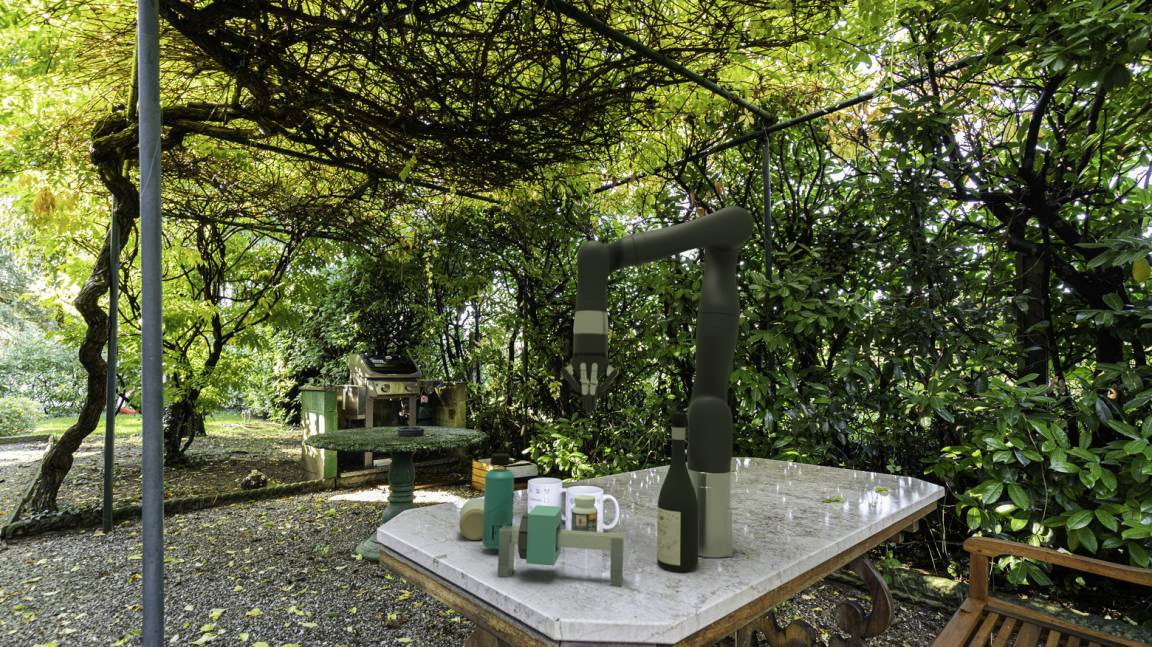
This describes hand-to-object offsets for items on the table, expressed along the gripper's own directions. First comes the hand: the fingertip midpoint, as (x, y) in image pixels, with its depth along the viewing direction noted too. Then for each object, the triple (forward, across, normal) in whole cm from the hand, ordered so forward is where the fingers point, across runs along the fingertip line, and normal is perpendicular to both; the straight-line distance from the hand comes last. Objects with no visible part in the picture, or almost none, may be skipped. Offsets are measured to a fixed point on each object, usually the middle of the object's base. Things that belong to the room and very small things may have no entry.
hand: (588, 412), depth 122 cm
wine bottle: (+29, -19, +6) cm, 35 cm away
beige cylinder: (+29, +24, -5) cm, 38 cm away
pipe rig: (+29, +2, +17) cm, 34 cm away
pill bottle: (+29, +1, -5) cm, 30 cm away
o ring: (+26, +9, +17) cm, 32 cm away
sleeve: (+26, +6, +17) cm, 31 cm away
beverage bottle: (+29, +18, +5) cm, 35 cm away
